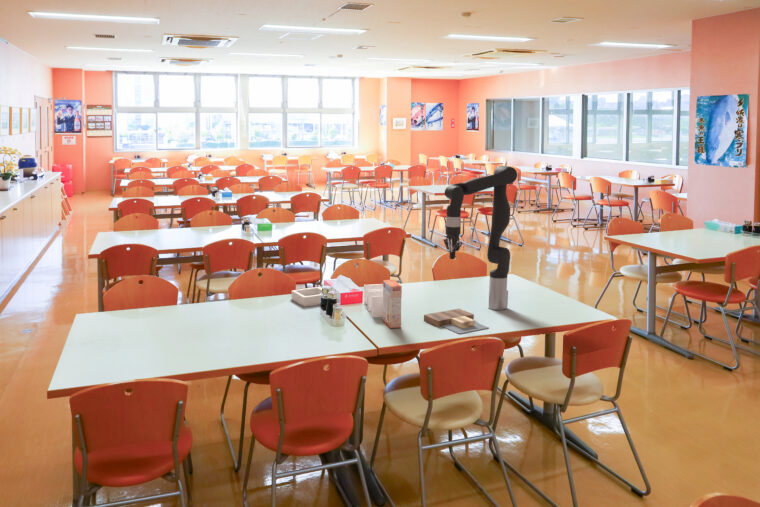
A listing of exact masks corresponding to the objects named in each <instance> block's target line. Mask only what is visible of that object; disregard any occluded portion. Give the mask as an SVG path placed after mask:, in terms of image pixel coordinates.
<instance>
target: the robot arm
mask: <svg viewBox="0 0 760 507" xmlns="http://www.w3.org/2000/svg"><path fill="white" fill-rule="evenodd" d="M517 179H518V172H517V169H516V168H514V167H513V166H508V165H500V166H497V167H496V168H495V169H494V172H493V173H492V174H490V175H485V176H480V177H475V178H471V179H469V180H466V181H464V182H463V181H462V182H458V183H453V184H450V185H448V186H447V187H446V188H445V190H444V195H445V197H446V198H447V199H449V200H450V204H448V205H447V206H446V219H445V235H446V238H445V239H443V243H444V245H445V247H446V250H447V251H448V252H449V259H451V260H455V259H456V252H459V250H460V249H461V246H462V245H463V242H462V241H460V237H459V236H460V235H461V234H462V232H461V229H462V220H461V219H462V218H461V213H462V212H461V211H462V205H463V202H464V197H465V196H470V195H473V194H476V193H479V192H481V191H485V190H487V189H492V188H493V202H492V210H491V211H492V212H491V228H490V235H489V241H488V242H489V243H488V248H487V253H486V255H487V260H488V262H490V263H491V264H496V265H497V267H496V268H495V269H491V270H490V271H489V286H488V309H490V310H494V311H502V310H506V309H508V305H509V304H508V300H509V299H508V298H509V290H508V274H509V271H510V262H511V252H510V249H509V248H507V247H504V246H500V242H501V238H502V235H503V233H504V232H505V230H506V229H507V227H508V226H509V224H510V219H511V206H510V203H509V199H508V196H507V185H510V184H513V183H515V181H516V180H517Z"/></svg>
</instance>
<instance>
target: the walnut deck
mask: <svg viewBox="0 0 760 507" xmlns="http://www.w3.org/2000/svg"><path fill="white" fill-rule="evenodd" d="M461 316H466V317H468V318H471V319H473V320H475V317H474V316H475V314H473V313H471V312H468V311H466V310H465V309H464V310H463V309H461V308H456V309H449V310H444V311H438V312H432V313H427V314H423V321H425V322H427V323H429V324H431V325H433V326H435V327H437V328H440V327H442V325H447V324H451V318H456V317H461Z"/></svg>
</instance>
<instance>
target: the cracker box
mask: <svg viewBox="0 0 760 507" xmlns="http://www.w3.org/2000/svg"><path fill="white" fill-rule="evenodd" d="M382 284H383V317H382V321H383V322H384V323H385V325H386V326H387V327H388V328H389V329H398V328H401V327H402V295H403V294H402V293H403V292H402V291H403V290H402V285H401V284H399V283H398V282H397V281H396V280H395V279H383V282H382Z"/></svg>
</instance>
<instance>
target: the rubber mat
mask: <svg viewBox="0 0 760 507" xmlns="http://www.w3.org/2000/svg"><path fill="white" fill-rule="evenodd" d="M441 327H442V328H444V329H447V330H449V331H451V332H453V333H456V334H458V335H462V334H466V333H467V334H468V333H473V332H479V331H483V330H487V329H488V330H489V328H490V327H489V326H486V325H484V324H481V323H479V322H476V321H475V326H472V327H467V328H462V329H461V328H459V327H457V326H454V325H452V324H447V325H442V326H441Z"/></svg>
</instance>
